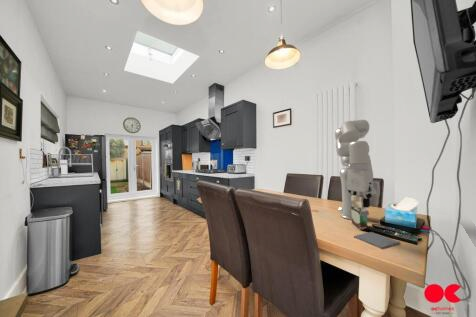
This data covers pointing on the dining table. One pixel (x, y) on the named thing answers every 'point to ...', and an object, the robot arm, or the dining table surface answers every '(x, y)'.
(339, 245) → the dining table surface
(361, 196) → the birch cube
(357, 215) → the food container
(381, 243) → the charcoal mat
